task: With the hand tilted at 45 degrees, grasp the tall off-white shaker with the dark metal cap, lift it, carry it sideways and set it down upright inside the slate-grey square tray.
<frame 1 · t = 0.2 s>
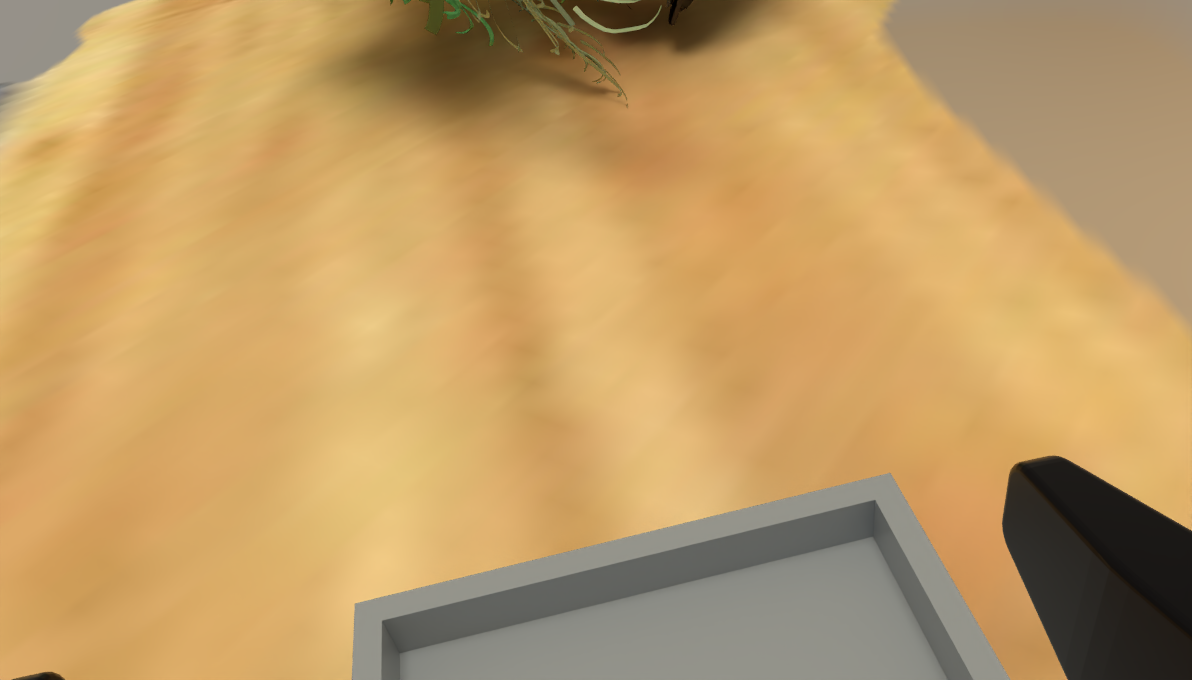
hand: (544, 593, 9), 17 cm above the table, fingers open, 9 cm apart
plant: (545, 45, 63), on the table
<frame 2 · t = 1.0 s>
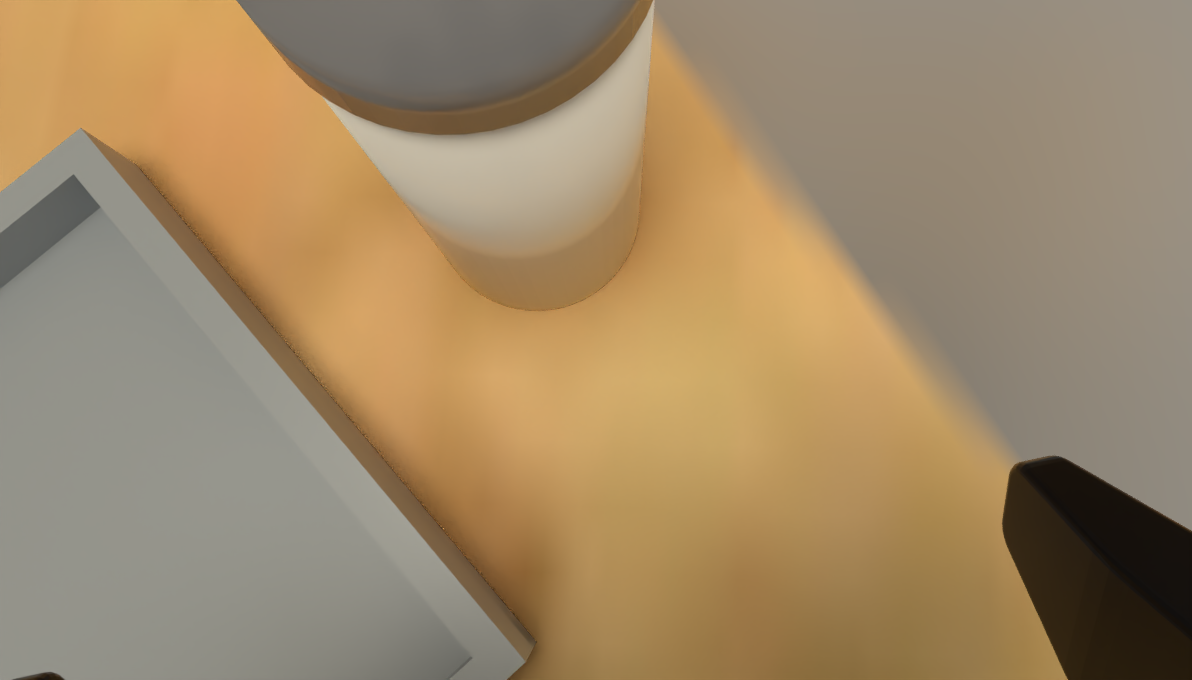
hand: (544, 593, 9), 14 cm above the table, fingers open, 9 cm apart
shaker: (538, 211, 24), on the table
tray: (71, 610, 22), on the table
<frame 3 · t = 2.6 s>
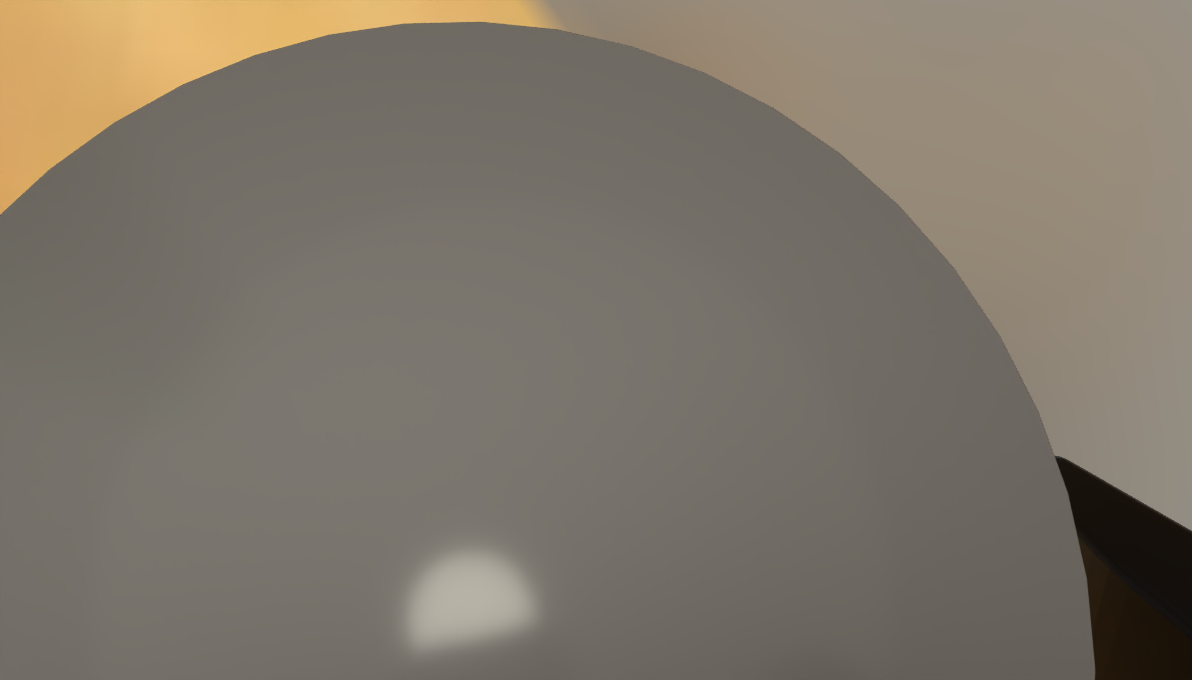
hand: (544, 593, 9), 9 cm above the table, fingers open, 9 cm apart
shaker: (578, 515, 17), on the table
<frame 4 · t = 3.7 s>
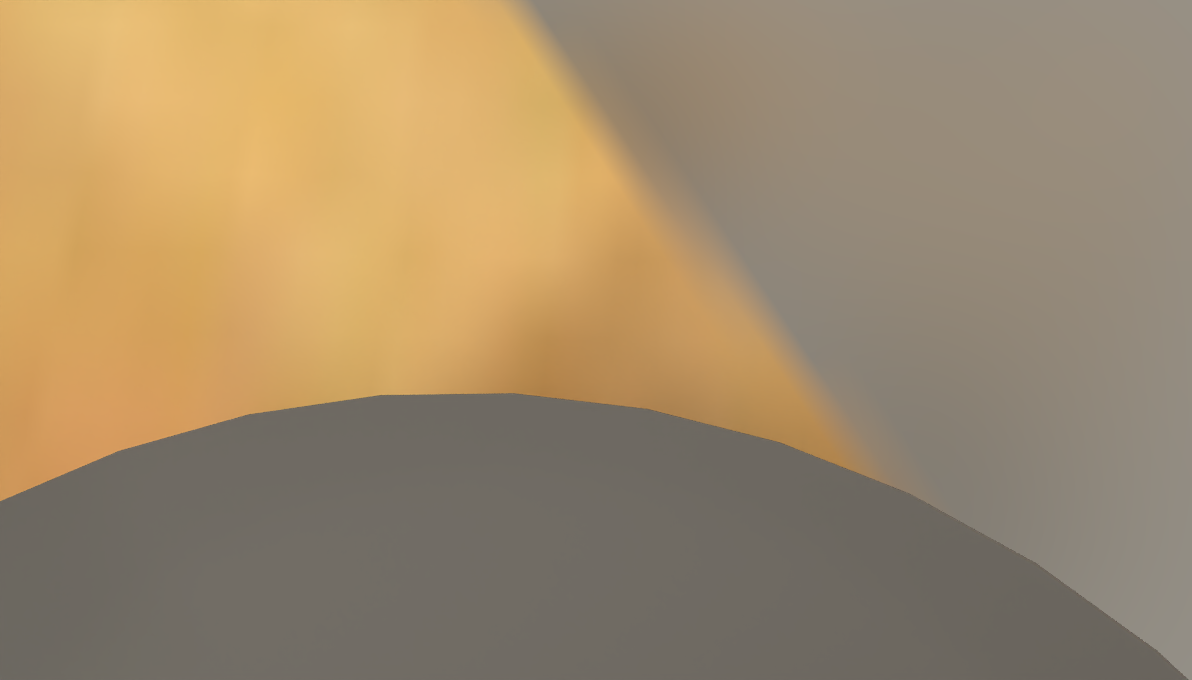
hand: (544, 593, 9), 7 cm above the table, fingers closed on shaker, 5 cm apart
shaker: (595, 622, 15), on the table, touching gripper
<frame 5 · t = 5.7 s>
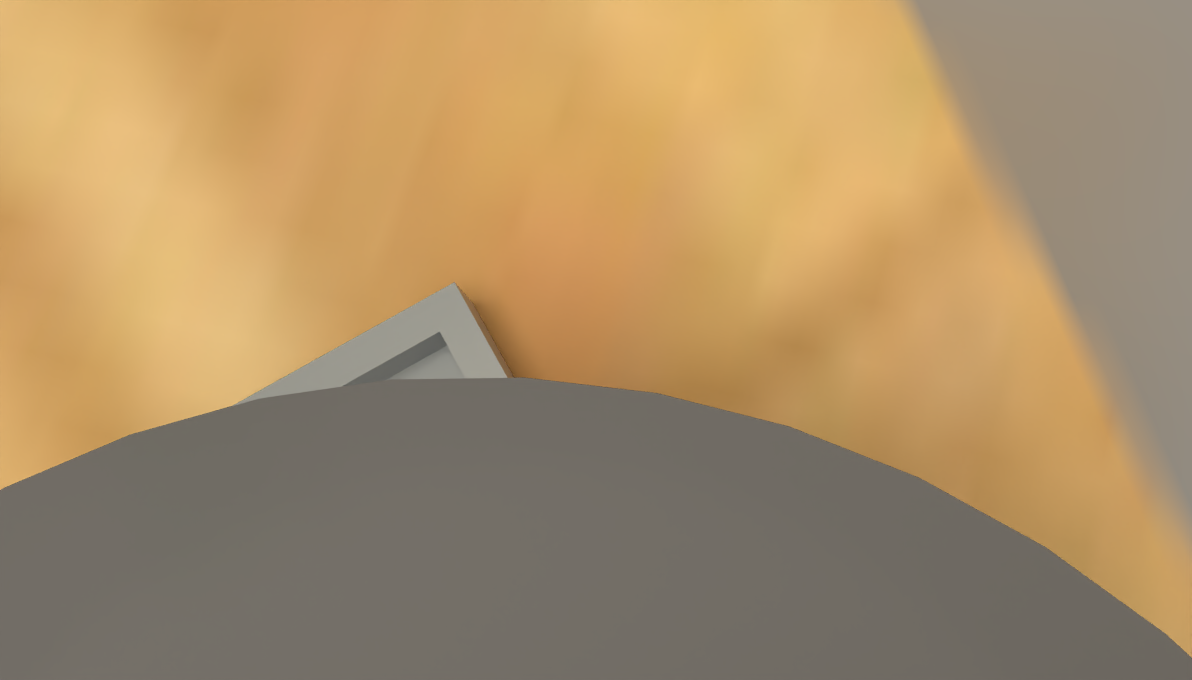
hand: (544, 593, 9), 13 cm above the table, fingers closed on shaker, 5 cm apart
shaker: (596, 619, 15), point 6 cm above the table, touching gripper
when the fingers open (9 cm above the table, at t = 7.7 s): shaker drops 1 cm, resting on tray.
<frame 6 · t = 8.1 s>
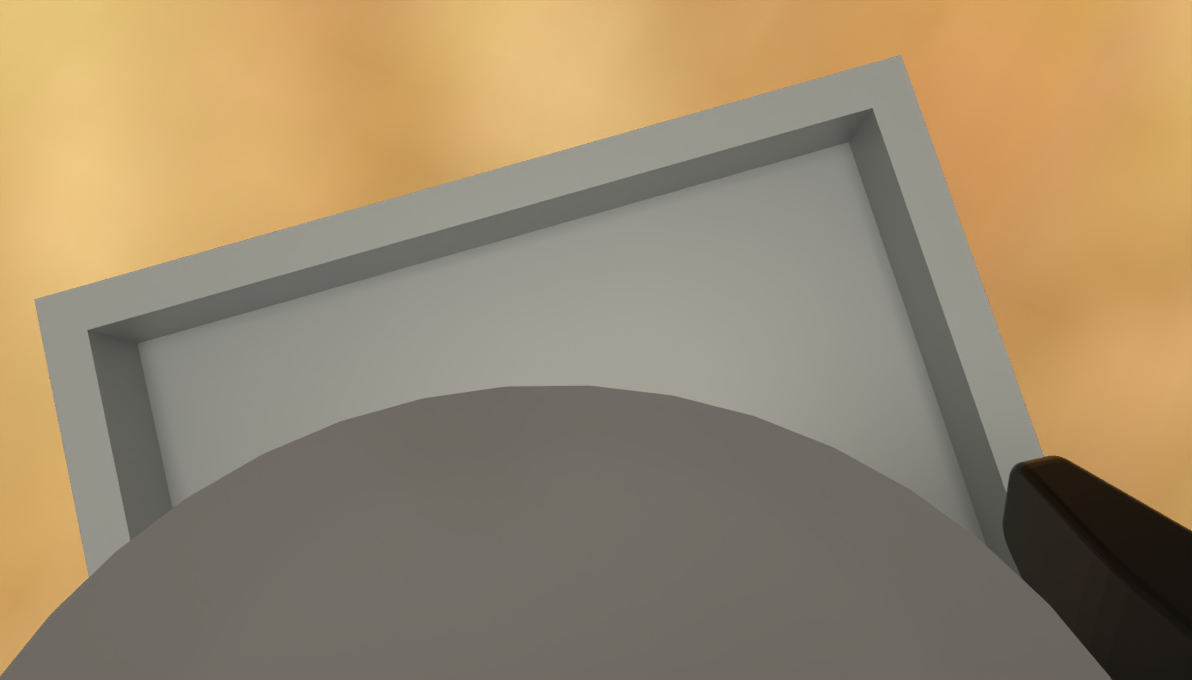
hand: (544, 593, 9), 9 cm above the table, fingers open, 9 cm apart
shaker: (592, 612, 17), point 1 cm above the table, touching tray
tray: (597, 602, 18), on the table
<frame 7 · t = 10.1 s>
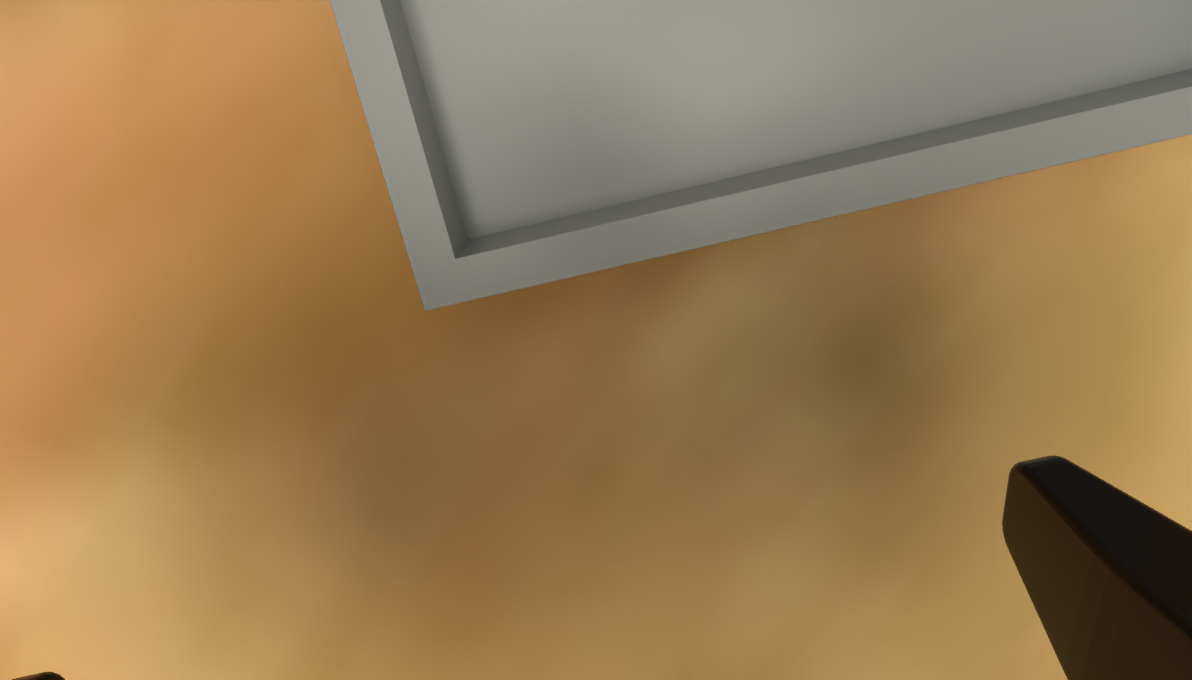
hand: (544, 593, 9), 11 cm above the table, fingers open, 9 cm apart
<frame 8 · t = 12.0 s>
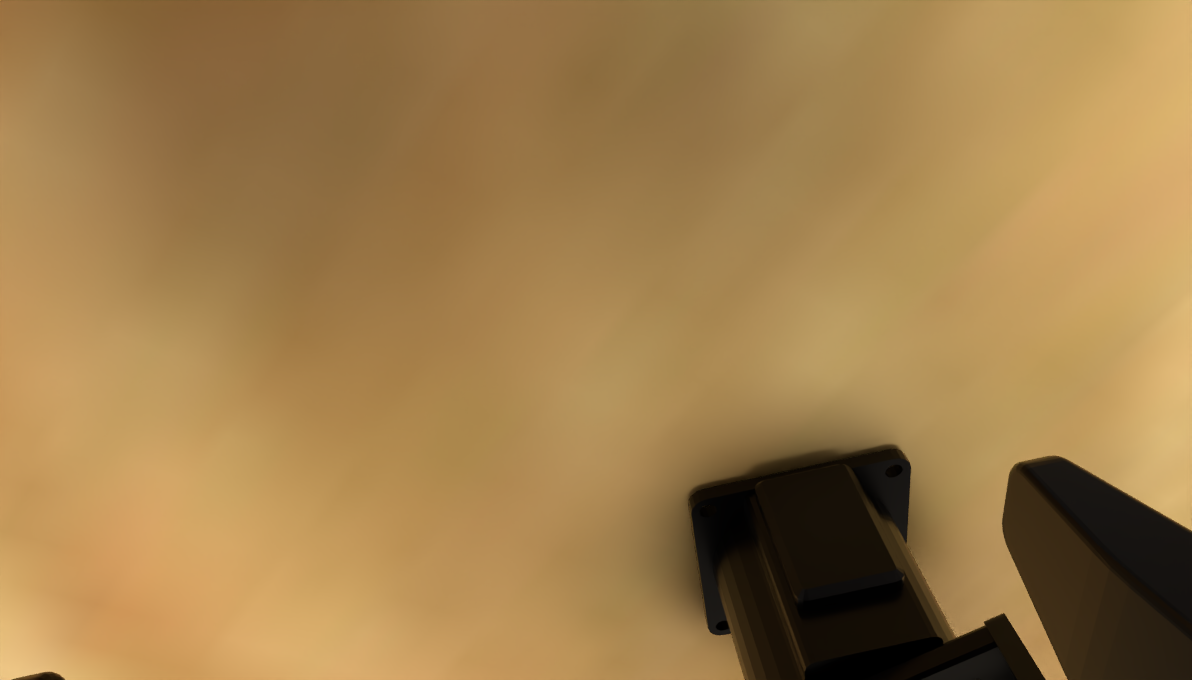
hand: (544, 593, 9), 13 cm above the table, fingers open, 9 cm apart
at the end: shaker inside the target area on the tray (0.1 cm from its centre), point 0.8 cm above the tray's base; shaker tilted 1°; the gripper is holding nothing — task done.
